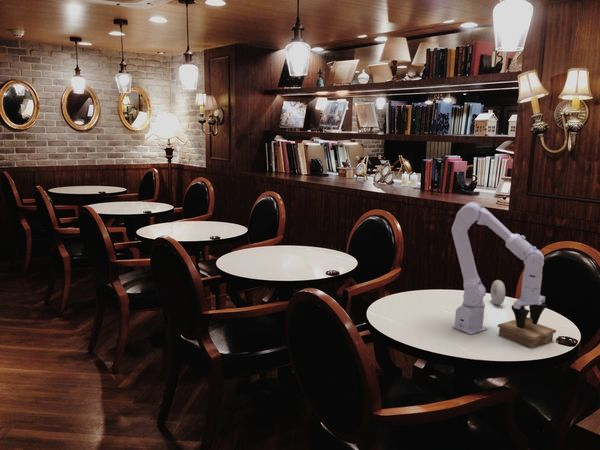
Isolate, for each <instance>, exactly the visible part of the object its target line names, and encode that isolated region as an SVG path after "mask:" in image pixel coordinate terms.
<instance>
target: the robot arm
mask: <svg viewBox="0 0 600 450" xmlns="http://www.w3.org/2000/svg"><path fill="white" fill-rule="evenodd" d="M475 222H476V224H477V225H481V226H482V225H483V226H487V227H488V228H489V229H490V230H491V231H493V232H494V233H495V234H496V235H498V236H499V237H500V238H502V239H503V240H504V242H505V247H506V248H507V249H509V251H511V253H513V254H514V255H515V256H516V257H517V258H518V259H520V260H521V261H523V264H524V271H523V273H522V281H521V291H520V297H519V298H518V299H517V300H515V301H514V302H513V304H512V305H511V310H512V312H513V314H514V317H515V319H516V325H517V327H519V328H521V329H523V328H524V325H525V321H526V317H527V316H528V315H529V318H531V319H532V324H535V325H536V324H539V323H538V322H539V319H540V318H541V315H542V313H543V312H544V310H545V309H546V308H547V304H546V303H545V301H546V296H544V295H541V290H542V289H541V287H542V280H543V267H544V265H545V262H544V261H545V256H544V254H543V252H542V251H541V250H540V249H537V247H536V246H535V245H534V246H533V245H532V244H531V243H529V241H527V240H526V236H524V235H523V234H522V235H520V234H519V233H512V232H511V231H510V230H509V229H508V228H507V227H506V226H505V225H504V224H503V223H502V222H500V220H498V218H496V216H494V214H492V213H491V212H490V211H489V210H488V209H487V208H486V207H482V206H481V204H480V203H479V202H476V201H469V202H467V203H466V204H465V205H463V206H462V207H461V208H460V209H459V210H458V211H457V213H456V216H455V219H454V221H453V224H452V226H451V234H452V239H453V242H454V247H455V250H456V254H457V258H458V262H459V266H460V269H461V274H462V278H463V290H464V291H463V295H462V296H463V301H462V304H461V305H460V306H459V307H457V308H456V310H455V318H454V325H452V328H454V329H455V330H459V331H461V332H464V333H466V334H469V335H473V334H477V333H481V332H484V331H487V330H489V328H488V327H486V326H484V319H485V318H484V317H485V316H484V315H485V305H486V303H485V301H484V297H485V296H486V293H487V290H486V287H485V286H484V284H483V283H482V281H481V277H480V276H479V273H478V270H477V267H476V263H475V259H474V254H473V251H472V246H471V242H470V237H469V235H468V230H470V227H471V226H472V225H473V224H474V223H475ZM528 306H529V309H526V307H528ZM515 319H514V320H515Z"/></svg>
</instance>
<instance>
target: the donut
mask: <svg viewBox="0 0 600 450" xmlns="http://www.w3.org/2000/svg"><path fill="white" fill-rule="evenodd" d="M490 287H491V288H490V298H491V301H492V303H493V304H494V305H496V306H501V305H502V304H503V303H504V301H505V298H506V286H505V283H504V282H503V281H502V280H500V279H496V280H494V281H493V282H492V284H491V286H490Z"/></svg>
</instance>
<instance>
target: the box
mask: <svg viewBox="0 0 600 450" xmlns="http://www.w3.org/2000/svg"><path fill="white" fill-rule="evenodd" d="M498 336H500V337H502V338H505V339H507V340H510V341H512V342H514V343H517V344H520V345H522V346H525V347H527V348H530V349H532V348H534V347H538V346H541V345H544V344H547V343H550V342H552V341H553V340H554V339H553V337H554V333H553V334H549V335H546V336H543V337H540V338H537V339H534V340H531V339H528V338H526V337H523V336H520V335H518V334H515V333H513V332H510V331H507V330H505V329H502V328H499V331H498Z"/></svg>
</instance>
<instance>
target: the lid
mask: <svg viewBox="0 0 600 450" xmlns="http://www.w3.org/2000/svg"><path fill="white" fill-rule="evenodd" d="M497 327H498V328H499V329H500V328H502V329H505V330H507V331H510V332H513V333H515V334H518V335H520V336H523V337H526V338H528V339H531V340H534V339H537V338H540V337H543V336H546V335H549V334H553V335H554V334H556V332H557V329H554V328H551V327H548V326H546V325H543V324H539V323H537V324H536V325H535V324H532V319H531V318H530V317H526V321H525V325H524V328H523V329H521V328H519V327H517V325H516V319H513V320H509V321H504V322H503V323H499V324H497Z"/></svg>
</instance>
